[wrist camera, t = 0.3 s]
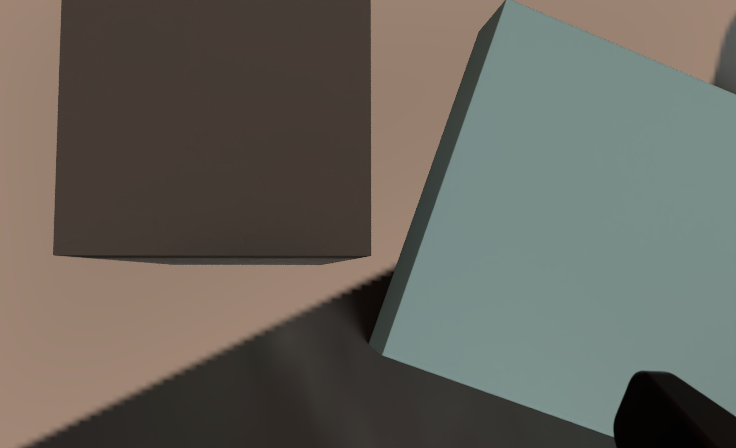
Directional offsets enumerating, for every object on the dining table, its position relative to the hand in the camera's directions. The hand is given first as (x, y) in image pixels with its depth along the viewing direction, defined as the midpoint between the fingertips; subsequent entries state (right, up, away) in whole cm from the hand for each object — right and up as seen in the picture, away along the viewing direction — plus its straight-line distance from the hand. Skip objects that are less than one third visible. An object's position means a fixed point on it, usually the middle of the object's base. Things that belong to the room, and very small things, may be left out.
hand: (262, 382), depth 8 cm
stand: (+9, +1, +16) cm, 19 cm away
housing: (-3, +3, +15) cm, 16 cm away
